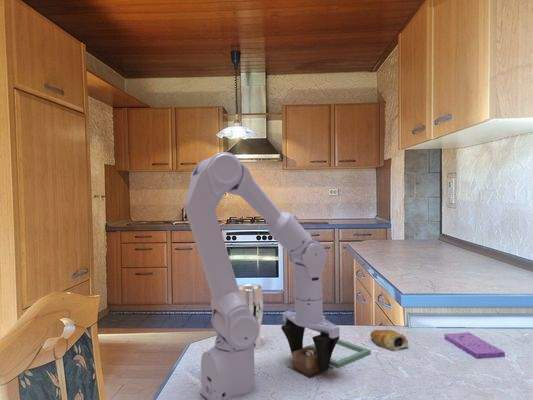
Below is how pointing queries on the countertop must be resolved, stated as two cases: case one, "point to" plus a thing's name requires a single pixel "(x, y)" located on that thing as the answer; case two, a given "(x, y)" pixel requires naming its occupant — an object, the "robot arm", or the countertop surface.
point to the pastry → (389, 339)
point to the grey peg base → (309, 353)
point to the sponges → (474, 345)
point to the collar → (305, 360)
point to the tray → (361, 353)
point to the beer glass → (254, 304)
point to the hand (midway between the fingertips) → (310, 363)
